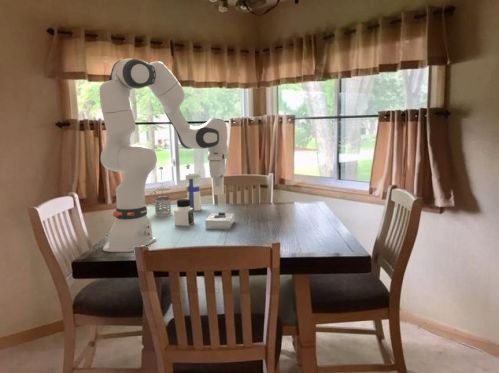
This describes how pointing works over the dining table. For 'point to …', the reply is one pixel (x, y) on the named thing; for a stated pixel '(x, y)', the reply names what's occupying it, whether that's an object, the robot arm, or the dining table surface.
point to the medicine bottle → (183, 213)
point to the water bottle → (193, 190)
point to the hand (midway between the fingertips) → (218, 185)
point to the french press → (166, 200)
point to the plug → (219, 189)
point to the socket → (219, 221)
